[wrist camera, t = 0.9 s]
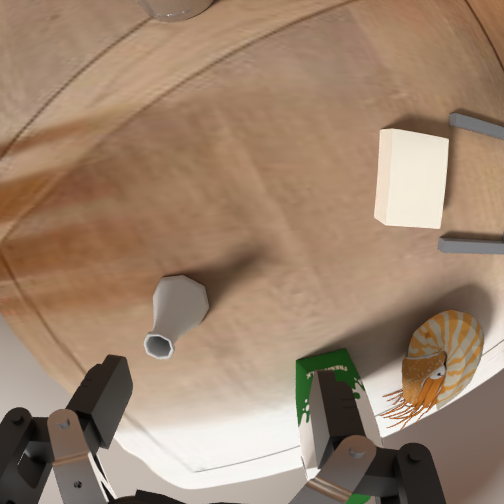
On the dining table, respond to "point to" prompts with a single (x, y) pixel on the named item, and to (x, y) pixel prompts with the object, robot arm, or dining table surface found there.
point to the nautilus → (439, 361)
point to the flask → (175, 313)
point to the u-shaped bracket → (473, 244)
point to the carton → (411, 179)
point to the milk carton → (304, 377)
